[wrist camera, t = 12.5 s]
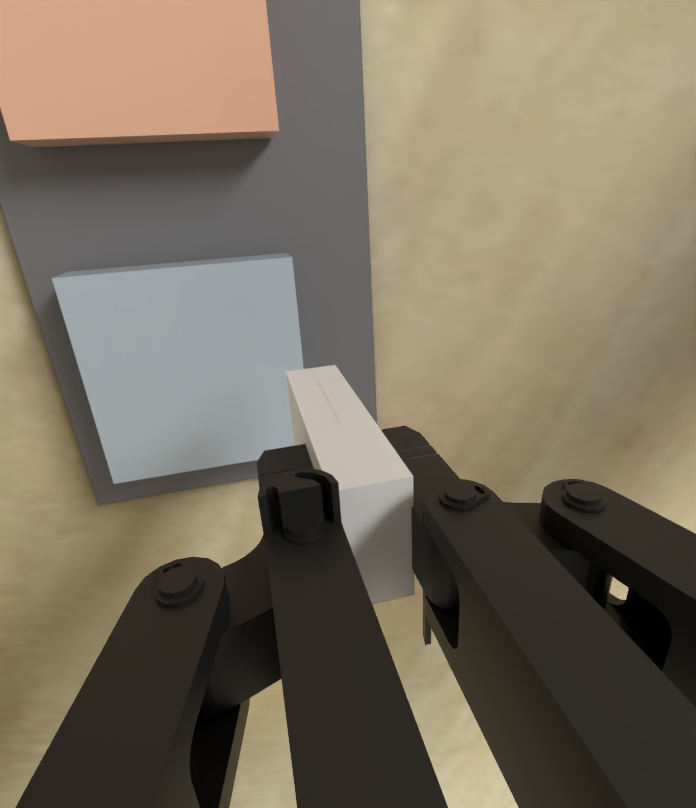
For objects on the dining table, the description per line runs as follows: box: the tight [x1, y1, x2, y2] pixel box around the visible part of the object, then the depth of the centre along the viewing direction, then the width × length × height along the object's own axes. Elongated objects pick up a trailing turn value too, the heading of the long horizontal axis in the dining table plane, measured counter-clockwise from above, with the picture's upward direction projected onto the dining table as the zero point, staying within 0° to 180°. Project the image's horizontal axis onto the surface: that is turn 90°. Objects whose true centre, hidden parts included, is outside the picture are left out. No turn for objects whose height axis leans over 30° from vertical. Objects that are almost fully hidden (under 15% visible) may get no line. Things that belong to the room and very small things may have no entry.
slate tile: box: [52, 253, 304, 484], centre depth 19 cm, size 8×2×8 cm
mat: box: [0, 0, 377, 505], centre depth 18 cm, size 24×13×1 cm, turn 4°
